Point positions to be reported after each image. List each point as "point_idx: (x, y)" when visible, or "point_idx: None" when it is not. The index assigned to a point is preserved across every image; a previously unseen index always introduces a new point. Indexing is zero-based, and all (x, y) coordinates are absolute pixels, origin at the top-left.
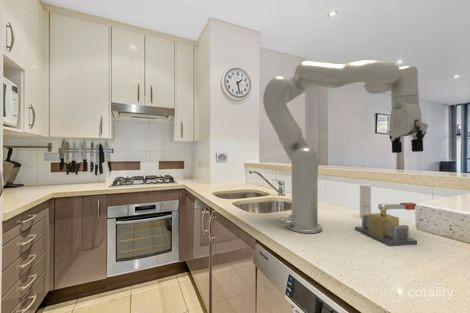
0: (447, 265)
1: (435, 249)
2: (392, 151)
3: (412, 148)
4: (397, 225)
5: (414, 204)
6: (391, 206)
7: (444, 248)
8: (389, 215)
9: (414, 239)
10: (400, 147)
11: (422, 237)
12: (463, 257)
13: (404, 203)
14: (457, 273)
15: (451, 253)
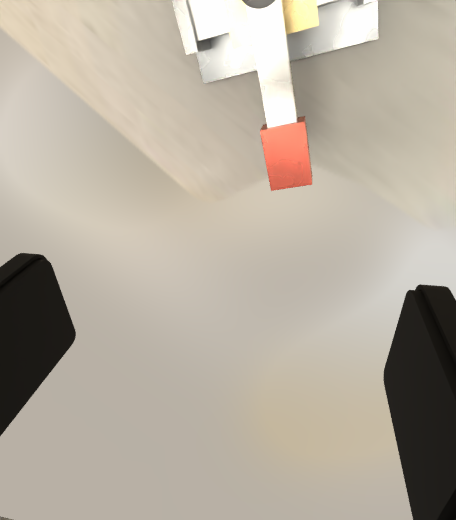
0: (71, 53)
1: (174, 110)
2: (434, 290)
3: (1, 269)
4: (184, 4)
5: (267, 167)
6: (250, 29)
7: (187, 143)
8: None
9: (212, 80)
10: (401, 427)
11: None
12: (134, 141)
13: (287, 133)
14: (33, 40)
15: (154, 132)
